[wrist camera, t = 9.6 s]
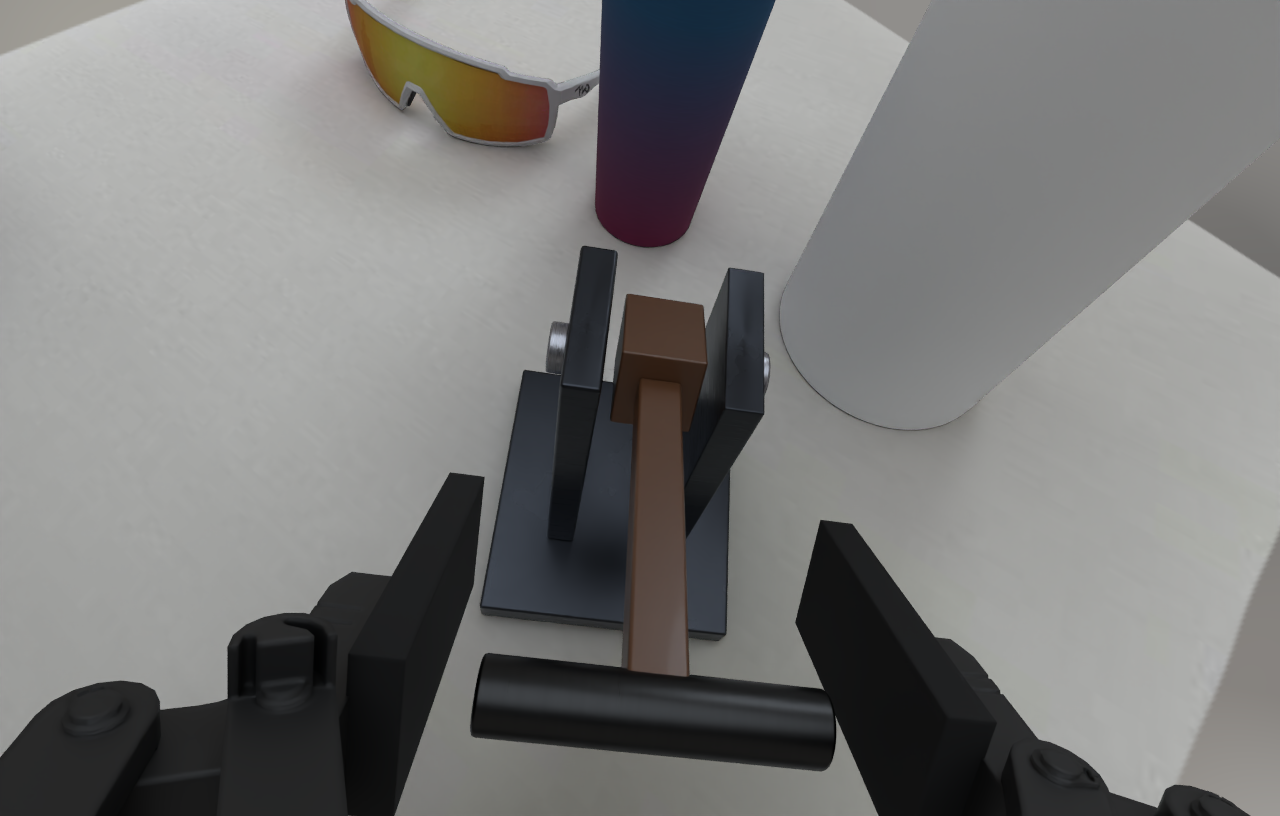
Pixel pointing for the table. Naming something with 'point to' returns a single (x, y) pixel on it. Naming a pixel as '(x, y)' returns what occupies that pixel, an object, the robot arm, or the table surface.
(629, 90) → the cup
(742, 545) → the table surface
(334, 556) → the table surface
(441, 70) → the sunglasses
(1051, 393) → the table surface
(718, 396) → the bracket
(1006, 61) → the tall pillar cylinder
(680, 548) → the lever
